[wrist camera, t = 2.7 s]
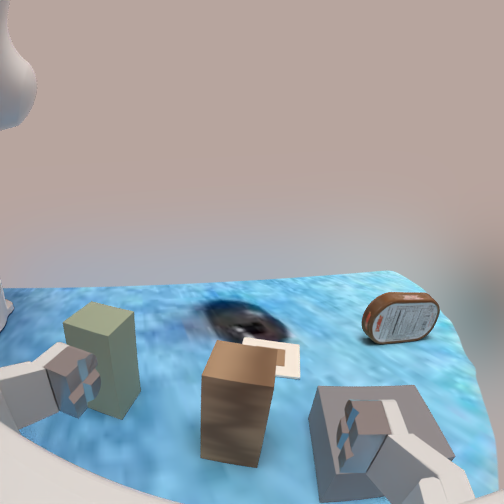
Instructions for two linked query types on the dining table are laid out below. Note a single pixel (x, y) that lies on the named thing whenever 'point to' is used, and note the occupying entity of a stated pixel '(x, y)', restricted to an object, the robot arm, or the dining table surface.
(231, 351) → the walnut block
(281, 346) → the card
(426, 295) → the tin
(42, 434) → the dining table surface
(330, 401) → the base block
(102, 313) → the olive block
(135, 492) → the robot arm
